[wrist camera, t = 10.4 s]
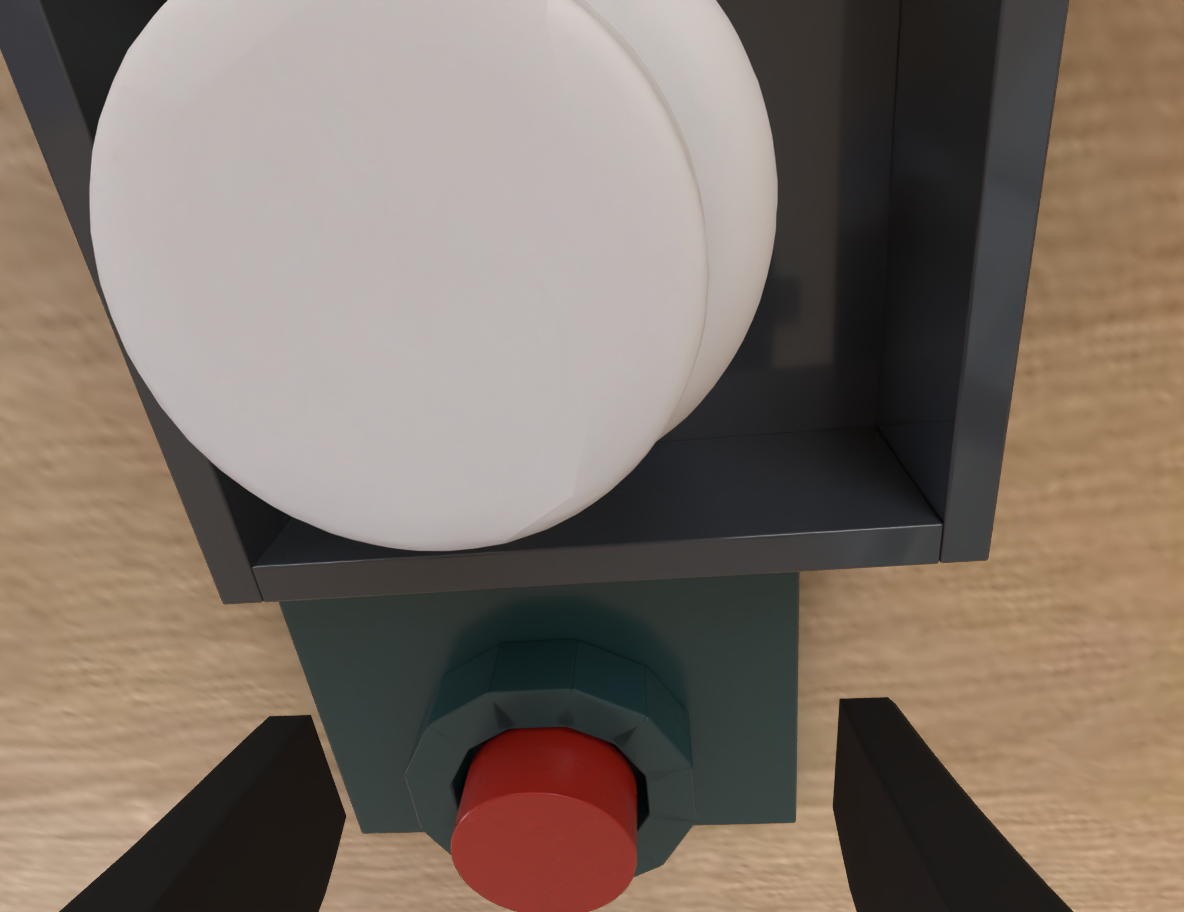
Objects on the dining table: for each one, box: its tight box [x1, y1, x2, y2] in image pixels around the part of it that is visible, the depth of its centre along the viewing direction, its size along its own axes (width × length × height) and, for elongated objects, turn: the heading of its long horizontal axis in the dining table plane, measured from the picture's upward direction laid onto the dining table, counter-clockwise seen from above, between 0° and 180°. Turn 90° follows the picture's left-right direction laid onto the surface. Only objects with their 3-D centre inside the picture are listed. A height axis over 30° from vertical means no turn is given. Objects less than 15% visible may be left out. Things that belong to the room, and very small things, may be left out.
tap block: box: [279, 572, 799, 877], centre depth 20 cm, size 13×9×2 cm
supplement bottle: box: [90, 0, 778, 551], centre depth 9 cm, size 6×6×10 cm
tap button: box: [451, 727, 637, 912], centre depth 18 cm, size 4×4×2 cm
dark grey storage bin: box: [0, 0, 1069, 604], centre depth 12 cm, size 14×14×5 cm
